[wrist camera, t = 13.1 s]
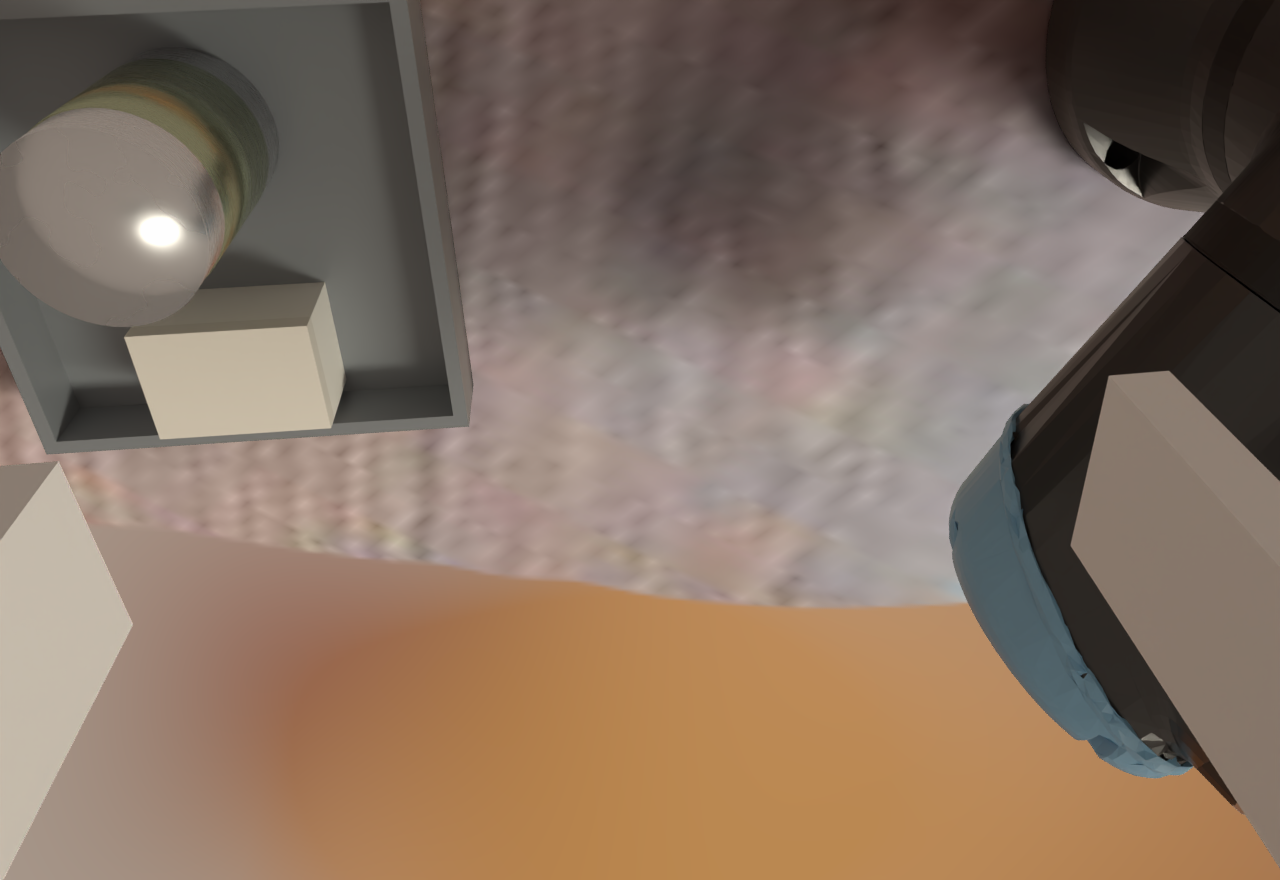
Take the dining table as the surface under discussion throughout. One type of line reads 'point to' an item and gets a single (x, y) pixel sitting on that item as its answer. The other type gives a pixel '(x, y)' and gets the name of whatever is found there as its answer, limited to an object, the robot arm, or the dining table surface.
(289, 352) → the cream rectangular block
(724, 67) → the dining table surface
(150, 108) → the tin can
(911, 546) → the dining table surface
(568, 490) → the dining table surface
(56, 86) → the tray
